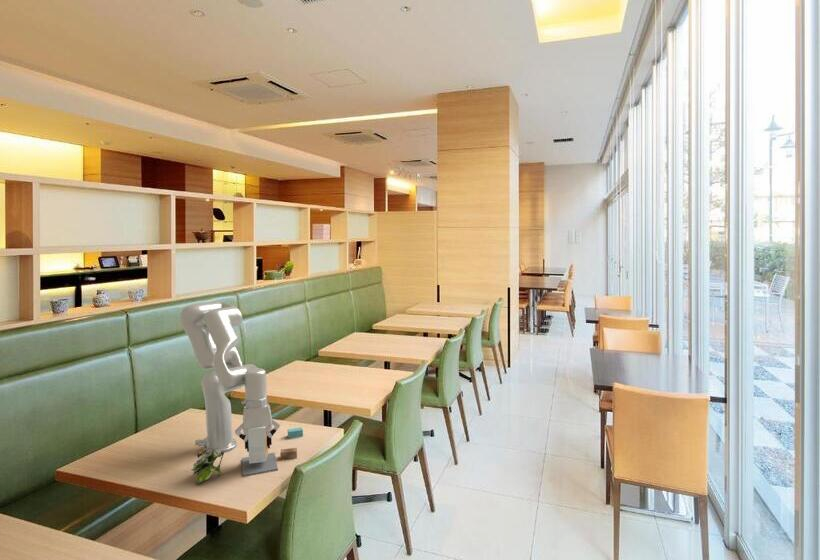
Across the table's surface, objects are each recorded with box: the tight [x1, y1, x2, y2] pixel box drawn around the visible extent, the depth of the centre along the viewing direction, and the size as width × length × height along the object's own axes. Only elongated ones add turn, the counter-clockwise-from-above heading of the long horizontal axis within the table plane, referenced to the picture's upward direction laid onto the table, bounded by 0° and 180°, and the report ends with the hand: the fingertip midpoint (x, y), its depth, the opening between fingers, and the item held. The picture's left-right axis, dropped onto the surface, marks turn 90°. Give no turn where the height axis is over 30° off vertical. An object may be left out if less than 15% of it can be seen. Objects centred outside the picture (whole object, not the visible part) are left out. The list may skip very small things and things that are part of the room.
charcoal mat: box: [241, 452, 279, 477], centre depth 176 cm, size 12×14×1 cm
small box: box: [248, 426, 269, 464], centre depth 176 cm, size 8×6×13 cm
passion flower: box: [190, 449, 225, 485], centre depth 168 cm, size 11×11×12 cm
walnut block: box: [280, 447, 298, 461], centre depth 182 cm, size 6×3×3 cm, turn 100°
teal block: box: [287, 427, 304, 439], centre depth 201 cm, size 6×3×3 cm, turn 111°
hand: (258, 448), depth 176 cm, fingers closed on small box, 6 cm apart
